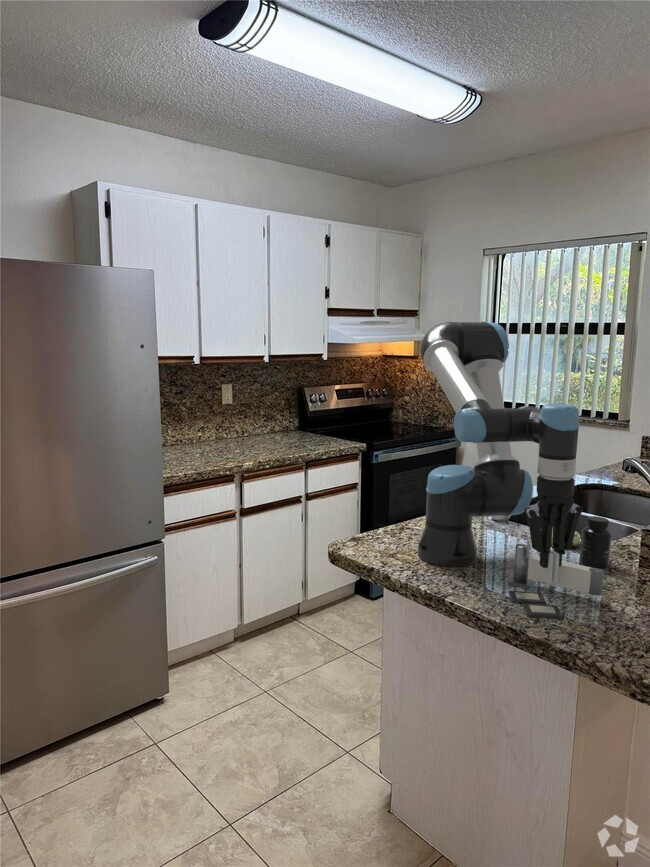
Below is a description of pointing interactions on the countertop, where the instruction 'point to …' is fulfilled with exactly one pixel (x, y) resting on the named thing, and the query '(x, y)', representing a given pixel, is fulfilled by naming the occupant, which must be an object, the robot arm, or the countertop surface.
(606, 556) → the supplement bottle
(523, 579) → the pivot post
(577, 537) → the decorated donut
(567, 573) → the swing bar
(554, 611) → the label plate
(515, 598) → the label plate
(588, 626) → the countertop surface
